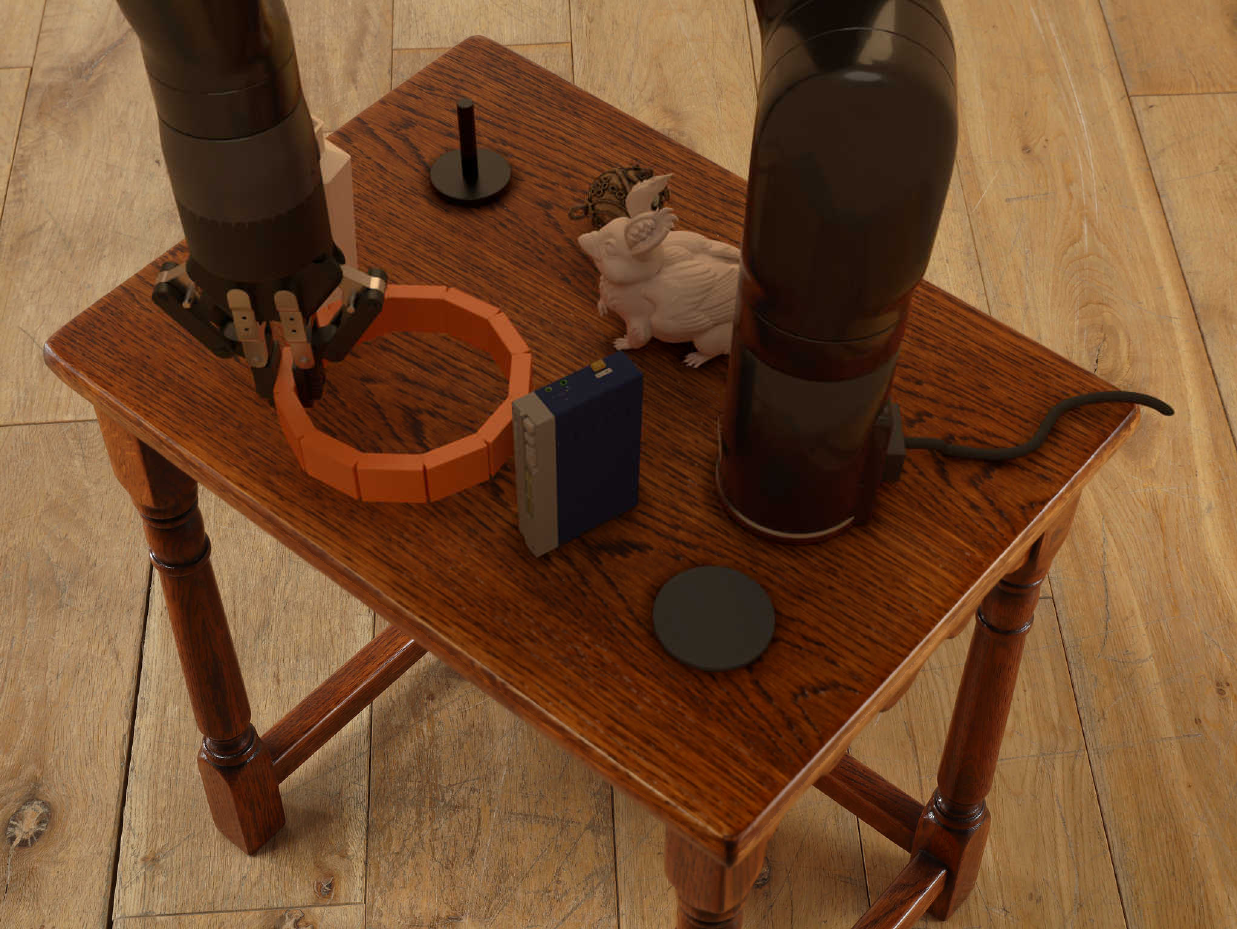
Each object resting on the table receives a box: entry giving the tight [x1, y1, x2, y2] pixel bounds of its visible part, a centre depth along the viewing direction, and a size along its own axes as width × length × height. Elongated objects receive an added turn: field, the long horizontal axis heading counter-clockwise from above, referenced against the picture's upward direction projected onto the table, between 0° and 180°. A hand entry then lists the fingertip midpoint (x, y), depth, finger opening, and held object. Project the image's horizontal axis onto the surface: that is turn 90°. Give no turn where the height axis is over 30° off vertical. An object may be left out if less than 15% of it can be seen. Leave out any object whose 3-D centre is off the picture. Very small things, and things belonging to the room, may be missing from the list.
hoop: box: [273, 283, 534, 504], centre depth 88 cm, size 15×15×3 cm
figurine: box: [577, 172, 740, 369], centre depth 94 cm, size 8×15×13 cm, turn 95°
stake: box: [428, 97, 513, 209], centre depth 106 cm, size 6×6×7 cm
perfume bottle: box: [310, 113, 359, 312], centre depth 95 cm, size 5×4×15 cm
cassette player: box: [512, 349, 644, 559], centre depth 85 cm, size 7×2×12 cm, turn 124°
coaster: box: [652, 565, 776, 673], centre depth 85 cm, size 7×7×1 cm
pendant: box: [567, 162, 672, 231], centre depth 104 cm, size 5×8×5 cm, turn 113°
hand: (294, 396), depth 89 cm, fingers closed on hoop, 1 cm apart
